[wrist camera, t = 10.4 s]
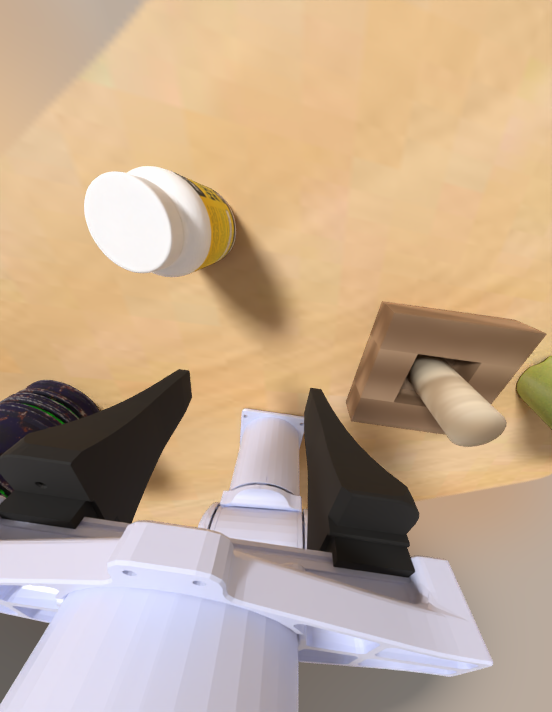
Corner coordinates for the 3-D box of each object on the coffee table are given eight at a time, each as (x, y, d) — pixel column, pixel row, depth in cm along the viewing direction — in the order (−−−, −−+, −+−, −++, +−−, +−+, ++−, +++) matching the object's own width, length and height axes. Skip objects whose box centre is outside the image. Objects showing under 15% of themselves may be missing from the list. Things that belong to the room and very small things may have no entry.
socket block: (448, 416, 27) (464, 437, 24) (345, 401, 27) (351, 421, 24) (515, 319, 21) (546, 333, 18) (382, 301, 21) (394, 312, 18)
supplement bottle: (240, 192, 17) (186, 163, 9) (235, 267, 20) (190, 299, 12) (169, 179, 17) (47, 136, 9) (173, 255, 20) (84, 279, 12)
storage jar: (111, 438, 33) (-6, 573, 20) (45, 429, 34) (-111, 558, 21) (89, 384, 28) (-83, 518, 15) (12, 374, 29) (-222, 498, 16)
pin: (434, 383, 24) (489, 448, 17) (398, 380, 24) (439, 444, 17) (448, 353, 22) (517, 413, 15) (410, 350, 22) (461, 408, 15)
